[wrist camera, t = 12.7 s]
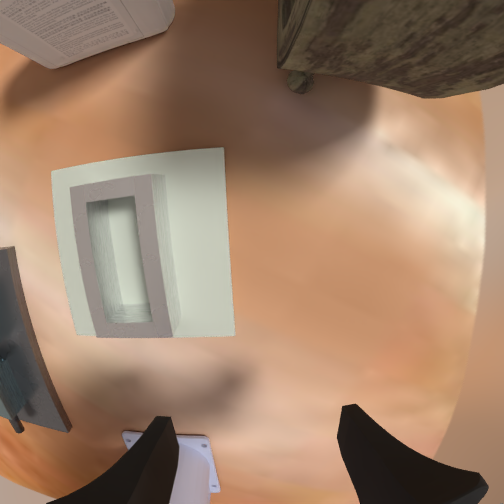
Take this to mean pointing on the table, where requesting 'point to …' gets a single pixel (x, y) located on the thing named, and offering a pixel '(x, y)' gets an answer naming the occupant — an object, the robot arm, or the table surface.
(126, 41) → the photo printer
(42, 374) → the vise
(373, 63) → the tabletop clock
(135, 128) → the table surface
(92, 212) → the gray rectangular frame
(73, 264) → the sage mat
